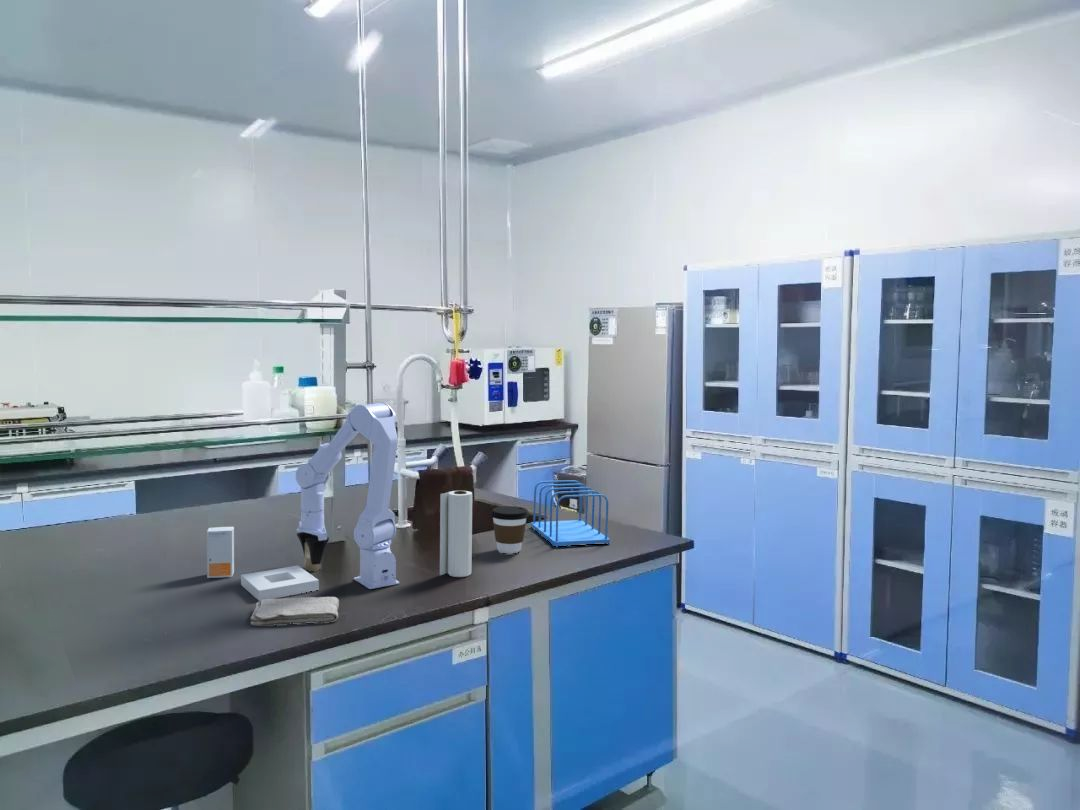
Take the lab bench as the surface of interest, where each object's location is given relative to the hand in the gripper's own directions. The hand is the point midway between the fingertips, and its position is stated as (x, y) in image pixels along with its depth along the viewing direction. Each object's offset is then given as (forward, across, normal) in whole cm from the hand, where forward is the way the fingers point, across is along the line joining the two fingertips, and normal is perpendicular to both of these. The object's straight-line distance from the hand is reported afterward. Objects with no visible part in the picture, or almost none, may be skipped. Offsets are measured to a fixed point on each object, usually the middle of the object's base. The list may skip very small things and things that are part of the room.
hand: (312, 561), depth 205 cm
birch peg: (+2, 0, 0) cm, 2 cm away
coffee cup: (+2, +14, +52) cm, 54 cm away
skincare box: (+2, -7, -21) cm, 22 cm away
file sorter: (+2, +10, +77) cm, 78 cm away
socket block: (+2, +10, -12) cm, 16 cm away
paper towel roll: (+2, +24, +29) cm, 38 cm away
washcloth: (+3, +30, -15) cm, 34 cm away
